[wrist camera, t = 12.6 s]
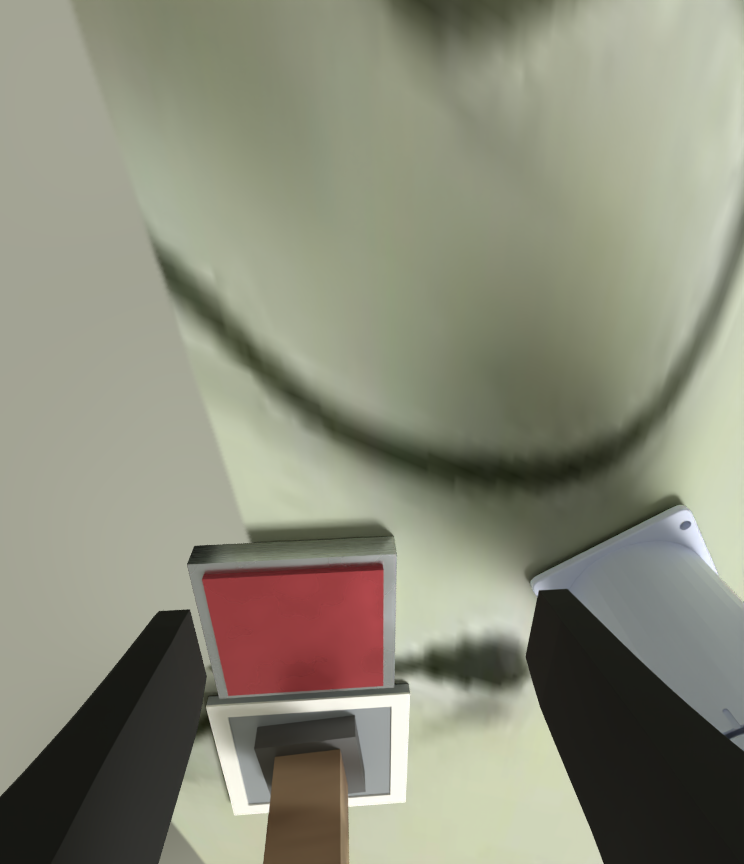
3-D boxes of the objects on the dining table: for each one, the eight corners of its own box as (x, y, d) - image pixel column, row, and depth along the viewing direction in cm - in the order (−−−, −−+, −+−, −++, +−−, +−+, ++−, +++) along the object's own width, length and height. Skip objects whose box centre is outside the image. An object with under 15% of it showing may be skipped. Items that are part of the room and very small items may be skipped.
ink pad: (392, 667, 26) (395, 692, 25) (224, 677, 26) (218, 704, 25) (394, 536, 22) (397, 558, 21) (194, 546, 22) (184, 569, 20)
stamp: (364, 770, 30) (371, 910, 24) (275, 781, 30) (260, 924, 24) (354, 715, 27) (359, 858, 22) (257, 726, 27) (235, 873, 21)
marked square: (404, 791, 32) (405, 802, 32) (236, 804, 32) (234, 815, 31) (408, 683, 27) (409, 693, 27) (208, 696, 27) (205, 707, 26)
